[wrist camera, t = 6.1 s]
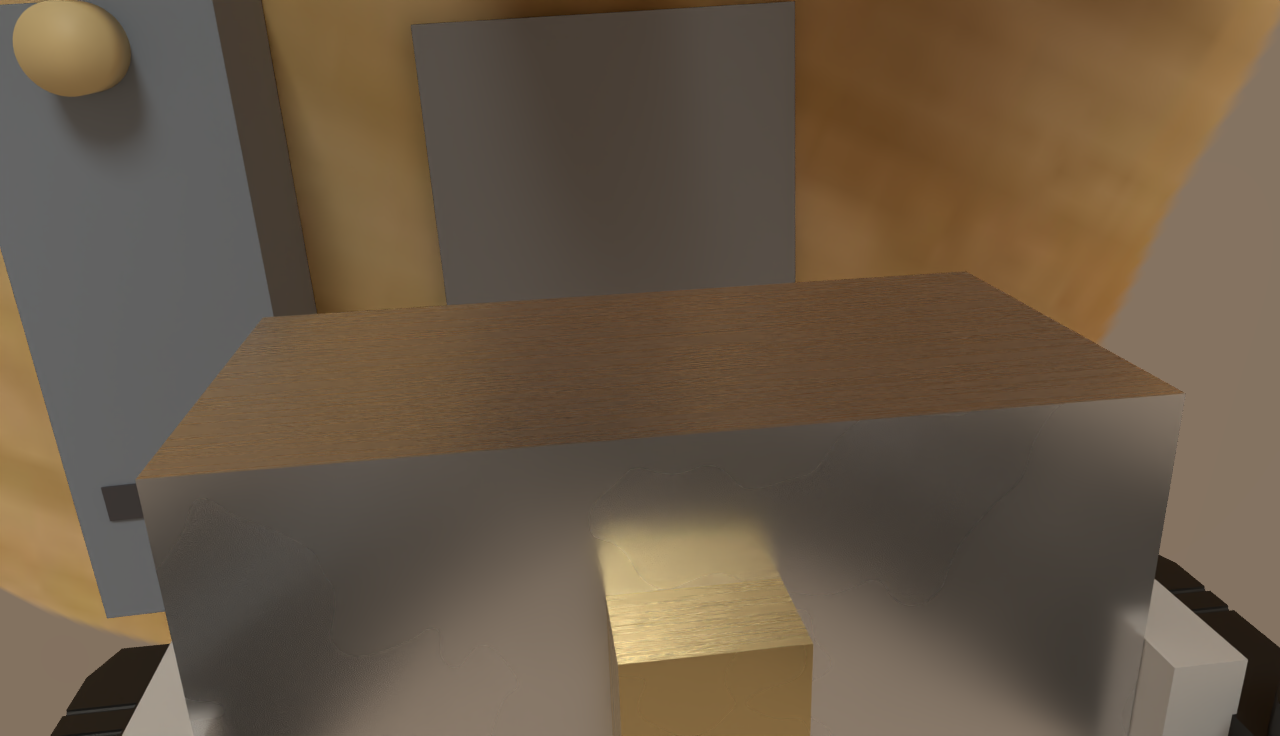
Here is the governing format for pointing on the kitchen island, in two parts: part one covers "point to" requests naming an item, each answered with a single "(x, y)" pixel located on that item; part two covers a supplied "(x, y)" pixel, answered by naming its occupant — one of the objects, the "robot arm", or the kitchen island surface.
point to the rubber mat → (611, 151)
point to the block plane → (140, 234)
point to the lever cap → (667, 518)
